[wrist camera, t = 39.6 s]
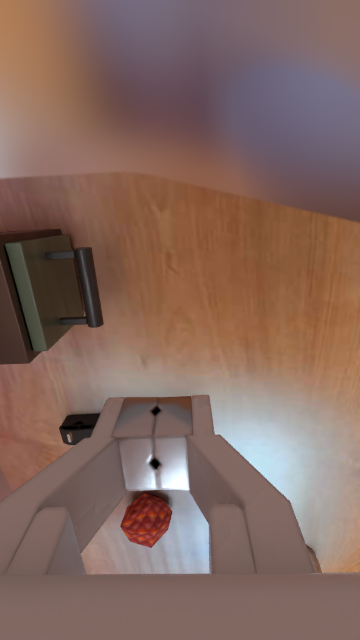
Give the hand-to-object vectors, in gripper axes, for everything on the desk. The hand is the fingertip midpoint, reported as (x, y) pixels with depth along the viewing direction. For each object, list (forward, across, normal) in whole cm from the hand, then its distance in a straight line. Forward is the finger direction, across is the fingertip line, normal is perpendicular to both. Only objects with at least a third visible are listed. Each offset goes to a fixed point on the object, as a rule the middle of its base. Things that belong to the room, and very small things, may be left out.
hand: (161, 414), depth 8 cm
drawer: (+22, +15, 0) cm, 27 cm away
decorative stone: (+23, +6, +36) cm, 43 cm away
